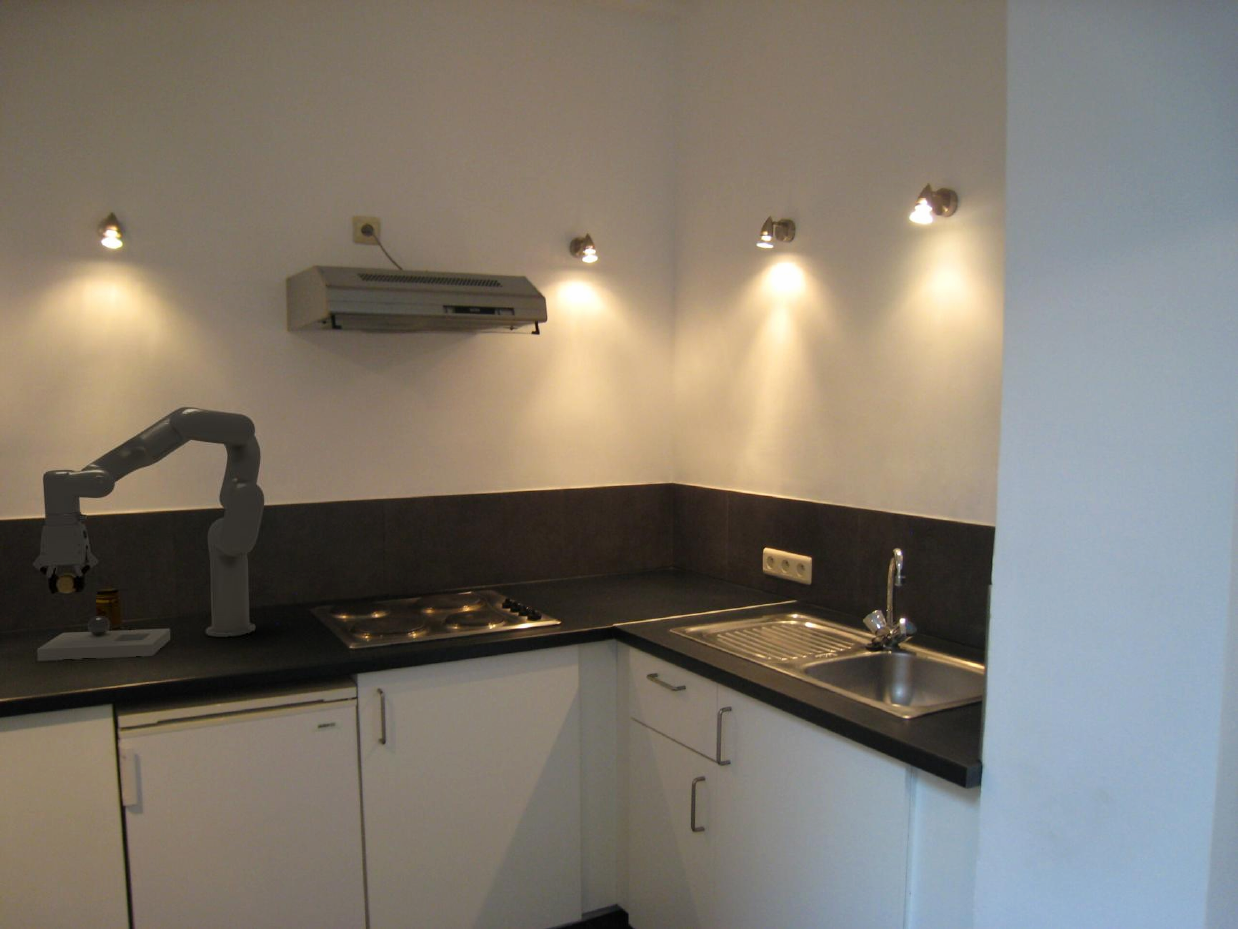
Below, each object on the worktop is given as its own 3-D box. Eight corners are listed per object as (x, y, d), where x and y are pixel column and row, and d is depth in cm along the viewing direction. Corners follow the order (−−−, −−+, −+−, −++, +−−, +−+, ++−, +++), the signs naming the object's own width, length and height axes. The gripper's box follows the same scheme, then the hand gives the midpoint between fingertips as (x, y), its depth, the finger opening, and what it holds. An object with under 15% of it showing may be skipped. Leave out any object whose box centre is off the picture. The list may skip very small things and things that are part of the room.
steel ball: (92, 633, 244) (91, 614, 244) (113, 632, 245) (112, 613, 245) (85, 637, 239) (84, 618, 239) (106, 637, 240) (105, 617, 240)
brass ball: (60, 591, 236) (59, 571, 235) (82, 590, 237) (80, 570, 236) (52, 595, 231) (51, 575, 230) (74, 594, 232) (73, 574, 231)
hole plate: (63, 644, 244) (63, 632, 244) (170, 639, 249) (169, 628, 249) (37, 661, 229) (37, 649, 228) (152, 656, 234) (151, 644, 233)
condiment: (89, 634, 255) (87, 590, 254) (114, 627, 263) (113, 584, 262) (110, 636, 253) (108, 592, 252) (135, 629, 261) (133, 586, 260)
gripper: (105, 516, 237) (109, 587, 239) (31, 519, 234) (36, 590, 236) (95, 520, 230) (99, 593, 232) (18, 523, 227) (23, 597, 228)
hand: (67, 591), depth 234 cm, fingers closed on brass ball, 5 cm apart
